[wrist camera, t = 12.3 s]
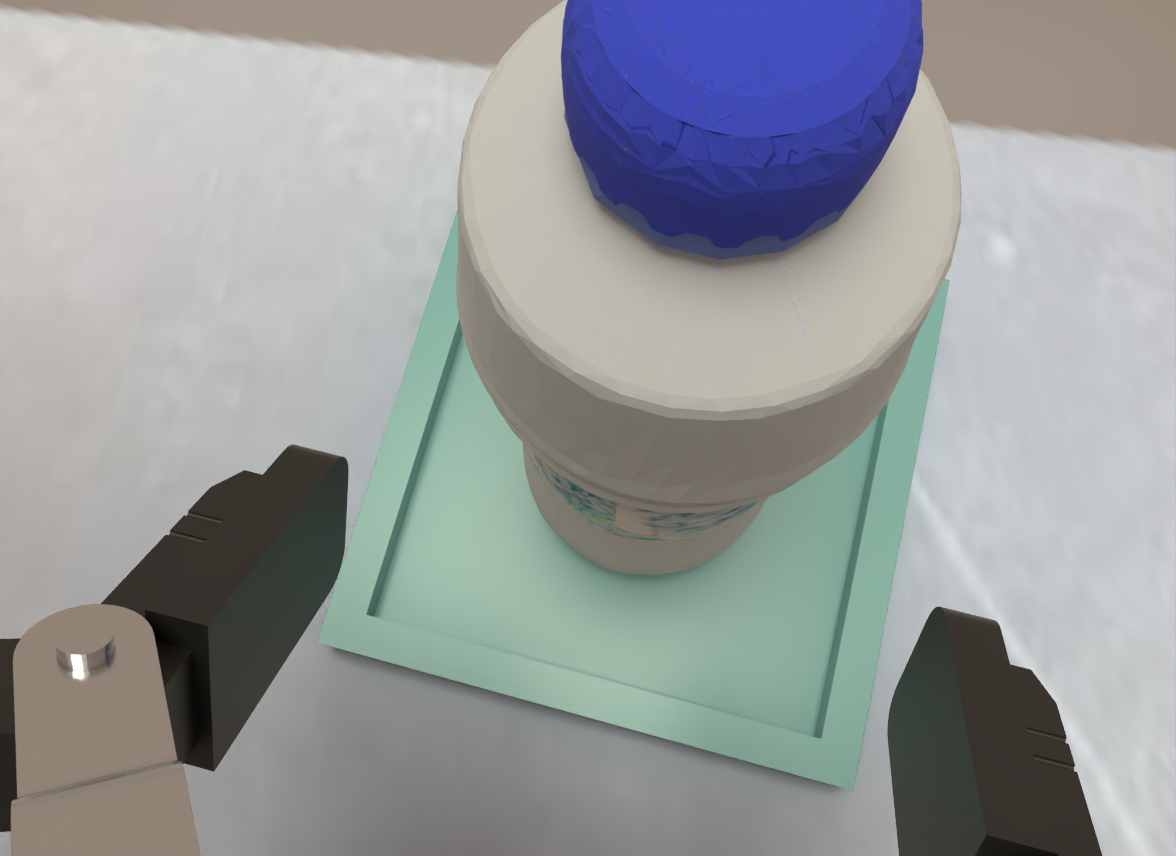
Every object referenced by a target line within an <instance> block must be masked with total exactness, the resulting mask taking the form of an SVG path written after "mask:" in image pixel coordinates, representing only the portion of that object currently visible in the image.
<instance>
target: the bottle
mask: <svg viewBox="0 0 1176 856" xmlns="http://www.w3.org/2000/svg"><path fill="white" fill-rule="evenodd" d="M922 54H923V30H922V1H921V0H564V1H563V2H561V3H560V4H559V5H558V6H556V7H555V8H553V9H552V10H551V11H549V12H548V13H546V14H545V15H544V16H542V17H541V18H540V19H538V20H537V21H536V22H534V23H533V24H532V25H531V26H530V27H529V28H528V29H527V30H526V31H525V32H524V34H523V35H522V36H521V37H520V38H519V39H518V40H517V41H516V42H515V43H514V44H513V46H512V47H511V48H510V49H509V50H508V51H507V52H506V53H505V54H504V56H503V57H502V59H501V60H500V62H499V63H498V65H497V66H496V67H495V69H494V70H493V72H492V73H491V75H490V77H489V79H488V81H487V83H486V84H485V86H484V88H483V90H482V92H481V94H480V95H479V97H478V99H477V101H476V103H475V105H474V108H473V112H472V115H471V118H470V121H469V124H468V128H467V131H466V134H465V137H464V141H463V146H462V154H461V163H460V172H459V180H458V261H457V269H456V299H457V306H458V314H459V319H460V324H461V328H462V333H463V337H464V340H465V343H466V346H467V349H468V352H469V355H470V358H471V361H472V363H473V365H474V367H475V369H476V371H477V373H478V375H479V377H480V379H481V381H482V383H483V385H484V387H485V389H486V390H487V392H488V393H489V395H490V396H491V398H492V400H493V402H494V404H495V406H496V407H497V409H498V410H499V412H500V413H501V415H502V416H503V418H504V419H505V421H506V422H507V424H508V425H509V427H510V428H511V430H512V431H513V432H514V433H515V434H516V436H517V437H518V438H519V439H520V440H521V441H522V442H523V454H524V464H525V471H526V475H527V479H528V483H529V487H530V490H531V493H532V495H533V498H534V500H535V502H536V505H537V507H538V509H539V511H540V513H541V515H542V516H543V517H544V519H545V520H546V521H547V523H548V524H549V526H550V527H551V528H552V529H553V530H554V531H555V532H556V533H557V534H558V536H559V537H560V538H561V539H562V540H563V541H564V542H565V543H566V544H567V545H569V546H570V547H571V548H573V549H574V550H575V551H576V552H578V553H579V554H580V555H582V556H583V557H585V558H586V559H588V560H589V561H591V562H593V563H594V564H596V565H598V566H600V567H602V568H604V569H607V570H611V571H614V572H618V573H622V574H635V575H661V574H667V573H674V572H680V571H685V570H688V569H691V568H695V567H698V566H701V565H703V564H705V563H706V562H708V561H710V560H712V559H713V558H715V557H716V556H718V555H719V554H720V553H722V552H723V551H724V550H726V549H727V548H729V547H730V546H731V545H732V544H733V543H734V542H735V541H736V540H737V539H738V538H739V537H740V536H741V535H742V534H743V533H744V532H745V531H746V529H747V528H748V527H749V525H750V524H751V523H752V522H753V520H754V519H755V518H756V516H757V515H758V514H759V512H760V511H761V509H762V507H763V505H764V503H765V501H766V499H767V497H769V496H772V495H774V494H776V493H779V492H781V491H783V490H785V489H787V488H788V487H790V486H792V485H793V484H795V483H797V482H798V481H800V480H802V479H803V478H805V477H807V476H808V475H810V474H811V473H813V472H814V471H815V470H816V469H818V468H820V467H821V466H823V465H824V464H826V463H827V462H829V461H831V460H832V459H834V458H835V457H836V456H838V455H839V454H840V453H841V452H842V451H843V450H845V449H846V448H847V447H848V446H849V445H850V444H851V443H853V442H854V441H855V440H856V439H857V438H858V437H859V436H861V435H862V433H863V432H864V431H865V430H866V428H867V427H868V426H869V425H870V423H871V422H872V421H873V420H874V418H875V417H876V416H877V415H878V413H879V412H880V411H881V410H882V408H883V407H884V406H885V405H886V403H887V402H888V400H889V398H890V396H891V394H892V392H893V391H894V389H895V387H896V385H897V383H898V381H899V379H900V377H901V375H902V373H903V371H904V369H905V367H906V365H907V361H908V358H909V355H910V352H911V349H912V346H913V343H914V341H915V339H916V337H917V334H918V332H919V330H920V329H921V327H922V325H923V323H924V321H925V319H926V317H927V315H928V313H929V311H930V309H931V307H932V305H933V303H934V301H935V298H936V296H937V294H938V292H939V290H940V288H941V286H942V283H943V281H944V279H945V277H946V275H947V273H948V270H949V268H950V266H951V262H952V258H953V253H954V249H955V245H956V240H957V236H958V232H959V228H960V220H961V179H960V168H959V162H958V158H957V153H956V149H955V145H954V140H953V136H952V131H951V127H950V123H949V121H948V119H947V117H946V115H945V113H944V111H943V109H942V106H941V104H940V102H939V100H938V98H937V96H936V94H935V91H934V89H933V87H932V85H931V83H930V81H929V80H928V78H927V77H926V76H925V74H924V73H923V72H922V71H921V69H920V65H921V59H922Z"/></svg>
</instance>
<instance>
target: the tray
mask: <svg viewBox="0 0 1176 856" xmlns="http://www.w3.org/2000/svg"><path fill="white" fill-rule="evenodd" d="M457 261H458V210H457V213H456V216H455V219H454V222H453V225H452V228H451V231H450V235H449V238H448V241H447V244H446V247H445V250H444V253H443V256H442V259H441V262H440V265H439V268H438V271H437V275H436V278H435V281H434V284H433V287H432V290H431V293H430V296H429V299H428V302H427V305H426V308H425V312H424V315H423V318H422V321H421V324H420V327H419V330H418V333H417V336H416V339H415V342H414V345H413V349H412V352H411V355H410V358H409V361H408V364H407V367H406V370H405V373H404V376H403V379H402V382H401V386H400V389H399V392H398V395H397V398H396V401H395V404H394V407H393V410H392V413H391V416H390V419H389V422H388V426H387V429H386V432H385V435H384V438H383V441H382V444H381V447H380V450H379V453H378V456H377V459H376V463H375V466H374V469H373V472H372V475H371V478H370V481H369V484H368V487H367V490H366V493H365V496H364V500H363V503H362V506H361V509H360V512H359V515H358V518H357V521H356V524H355V527H354V530H353V533H352V536H351V540H350V543H349V546H348V549H347V552H346V555H345V558H344V561H343V564H342V567H341V570H340V573H339V577H338V580H337V583H336V586H335V589H334V592H333V595H332V598H331V601H330V604H329V607H328V610H327V614H326V617H325V620H324V623H323V626H322V629H321V632H320V635H319V638H318V641H317V643H321V644H324V645H328V646H331V647H335V648H339V649H342V650H346V651H350V652H353V653H357V654H360V655H364V656H368V657H371V658H375V659H378V660H382V661H386V662H389V663H393V664H397V665H400V666H404V667H407V668H411V669H415V670H418V671H422V672H426V673H429V674H433V675H436V676H440V677H444V678H447V679H451V680H454V681H458V682H462V683H465V684H469V685H473V686H476V687H480V688H483V689H487V690H491V691H494V692H498V693H502V694H505V695H509V696H512V697H516V698H520V699H523V700H527V701H530V702H534V703H538V704H541V705H545V706H549V707H552V708H556V709H559V710H563V711H567V712H570V713H574V714H578V715H581V716H585V717H588V718H592V719H596V720H599V721H603V722H606V723H610V724H614V725H617V726H621V727H625V728H628V729H632V730H635V731H639V732H643V733H646V734H650V735H654V736H657V737H661V738H664V739H668V740H672V741H675V742H679V743H682V744H686V745H690V746H693V747H697V748H701V749H704V750H708V751H711V752H715V753H719V754H722V755H726V756H730V757H733V758H737V759H740V760H744V761H748V762H751V763H755V764H758V765H762V766H766V767H769V768H773V769H777V770H780V771H784V772H787V773H791V774H795V775H798V776H802V777H806V778H809V779H813V780H816V781H820V782H824V783H827V784H831V785H834V786H838V787H842V788H845V789H849V790H853V788H854V783H855V778H856V772H857V767H858V762H859V757H860V751H861V746H862V741H863V735H864V730H865V725H866V720H867V714H868V709H869V704H870V698H871V693H872V688H873V683H874V677H875V672H876V667H877V661H878V656H879V651H880V646H881V640H882V635H883V630H884V624H885V619H886V614H887V609H888V603H889V598H890V593H891V587H892V582H893V577H894V572H895V566H896V561H897V556H898V550H899V545H900V540H901V535H902V529H903V524H904V519H905V513H906V508H907V503H908V498H909V492H910V487H911V482H912V476H913V471H914V466H915V461H916V455H917V450H918V445H919V439H920V434H921V429H922V424H923V418H924V413H925V408H926V402H927V397H928V392H929V387H930V381H931V376H932V371H933V365H934V360H935V355H936V350H937V344H938V339H939V334H940V328H941V323H942V318H943V313H944V307H945V302H946V297H947V291H948V286H949V281H950V280H947V279H944V281H943V283H942V286H941V288H940V290H939V292H938V294H937V296H936V298H935V301H934V303H933V305H932V307H931V309H930V311H929V313H928V315H927V317H926V319H925V321H924V323H923V325H922V327H921V329H920V330H919V332H918V334H917V337H916V339H915V341H914V343H913V346H912V349H911V352H910V355H909V358H908V361H907V365H906V367H905V369H904V371H903V373H902V375H901V377H900V379H899V381H898V383H897V385H896V387H895V389H894V391H893V392H892V394H891V396H890V398H889V400H888V402H887V403H886V405H885V406H884V407H883V408H882V410H881V411H880V412H879V413H878V415H877V416H876V417H875V418H874V420H873V421H872V422H871V423H870V425H869V426H868V427H867V428H866V430H865V431H864V432H863V433H862V435H861V436H859V437H858V438H857V439H856V440H855V441H854V442H853V443H851V444H850V445H849V446H848V447H847V448H846V449H845V450H843V451H842V452H841V453H840V454H839V455H838V456H836V457H835V458H834V459H832V460H831V461H829V462H827V463H826V464H824V465H823V466H821V467H820V468H818V469H816V470H815V471H814V472H813V473H811V474H810V475H808V476H807V477H805V478H803V479H802V480H800V481H798V482H797V483H795V484H793V485H792V486H790V487H788V488H787V489H785V490H783V491H781V492H779V493H776V494H774V495H772V496H769V497H767V499H766V501H765V503H764V505H763V507H762V509H761V511H760V512H759V514H758V515H757V516H756V518H755V519H754V520H753V522H752V523H751V524H750V525H749V527H748V528H747V529H746V531H745V532H744V533H743V534H742V535H741V536H740V537H739V538H738V539H737V540H736V541H735V542H734V543H733V544H732V545H731V546H730V547H729V548H727V549H726V550H724V551H723V552H722V553H720V554H719V555H718V556H716V557H715V558H713V559H712V560H710V561H708V562H706V563H705V564H703V565H701V566H698V567H695V568H691V569H688V570H685V571H680V572H674V573H667V574H661V575H635V574H622V573H618V572H614V571H611V570H607V569H604V568H602V567H600V566H598V565H596V564H594V563H593V562H591V561H589V560H588V559H586V558H585V557H583V556H582V555H580V554H579V553H578V552H576V551H575V550H574V549H573V548H571V547H570V546H569V545H567V544H566V543H565V542H564V541H563V540H562V539H561V538H560V537H559V536H558V534H557V533H556V532H555V531H554V530H553V529H552V528H551V527H550V526H549V524H548V523H547V521H546V520H545V519H544V517H543V516H542V515H541V513H540V511H539V509H538V507H537V505H536V502H535V500H534V498H533V495H532V493H531V490H530V487H529V483H528V479H527V475H526V471H525V464H524V454H523V442H522V441H521V440H520V439H519V438H518V437H517V436H516V434H515V433H514V432H513V431H512V430H511V428H510V427H509V425H508V424H507V422H506V421H505V419H504V418H503V416H502V415H501V413H500V412H499V410H498V409H497V407H496V406H495V404H494V402H493V400H492V398H491V396H490V395H489V393H488V392H487V390H486V389H485V387H484V385H483V383H482V381H481V379H480V377H479V375H478V373H477V371H476V369H475V367H474V365H473V363H472V361H471V358H470V355H469V352H468V349H467V346H466V343H465V340H464V337H463V333H462V328H461V324H460V319H459V314H458V306H457V299H456V269H457Z"/></svg>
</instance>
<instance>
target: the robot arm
mask: <svg viewBox="0 0 1176 856" xmlns="http://www.w3.org/2000/svg"><path fill="white" fill-rule="evenodd" d="M347 491H348V463H347V460H346V458H345V457H341V456H337V455H333V454H329V453H325V452H321V451H317V450H313V449H309V448H305V447H301V446H297V445H290V446H288V447H287V448H286V449H285V450H284V451H283V452H282V453H281V455H280V456H279V457H278V458H277V459H276V460H275V461H274V463H273V464H272V465H271V466H270V467H269V468H268V469H267V471H266V472H265V473H264V474H263V475H261V474H257V473H253V472H249V471H245V470H244V471H242V472H240V473H238V474H236V475H234V476H232V477H230V478H228V479H226V480H224V481H222V482H220V483H218V484H216V485H214V486H212V487H211V488H210V489H209V490H208V491H207V492H206V493H205V494H204V495H203V496H202V497H201V498H200V499H199V500H198V501H197V502H196V503H195V504H194V506H193V507H192V508H191V509H190V510H189V512H188V515H187V516H185V515H184V516H183V517H182V518H181V519H180V520H179V521H178V522H177V524H176V525H175V526H174V527H173V528H172V529H171V530H170V534H169V536H168V535H165V536H164V537H163V538H162V539H161V541H160V542H159V543H158V544H157V545H156V546H155V547H154V548H153V549H152V550H151V551H150V552H149V553H148V554H147V555H146V556H145V557H144V559H143V560H142V561H141V562H140V563H139V564H138V565H137V566H136V567H135V568H134V569H133V570H132V571H131V572H130V573H129V574H128V575H127V577H126V578H125V579H124V580H123V581H122V582H121V583H120V584H119V585H118V586H117V587H116V588H115V589H114V590H113V591H112V592H111V594H110V595H109V596H108V597H107V598H106V599H105V600H104V601H103V602H102V603H101V604H92V605H83V606H78V607H73V608H69V609H66V610H63V611H60V612H57V613H55V614H53V615H51V616H48V617H46V618H45V619H43V620H41V621H40V622H38V623H37V624H35V625H34V626H33V627H32V628H30V629H29V630H28V631H27V632H26V633H25V634H24V635H23V636H22V638H20V639H0V832H5V831H11V847H12V856H200V851H199V846H198V840H197V835H196V830H195V825H194V819H193V814H192V809H191V804H190V798H189V793H188V788H187V783H186V777H185V772H184V768H183V764H184V763H185V764H189V765H193V766H196V767H200V768H203V769H207V770H211V771H215V769H216V768H217V766H218V765H219V763H220V761H221V760H222V758H223V757H224V755H225V754H226V752H227V751H228V749H229V748H230V746H231V744H232V743H233V741H234V740H235V738H236V737H237V735H238V734H239V732H240V730H241V729H242V727H243V726H244V724H245V723H246V721H247V720H248V718H249V717H250V715H251V713H252V712H253V710H254V709H255V707H256V706H257V704H258V703H259V701H260V700H261V698H262V696H263V695H264V693H265V692H266V690H267V689H268V687H269V686H270V684H271V682H272V681H273V679H274V678H275V676H276V675H277V673H278V672H279V670H280V669H281V667H282V665H283V664H284V662H285V661H286V659H287V658H288V656H289V655H290V653H291V651H292V650H293V648H294V647H295V645H296V644H297V642H298V641H299V639H300V638H301V636H302V634H303V633H304V631H305V630H306V628H307V627H308V625H309V624H310V622H311V620H312V619H313V617H314V616H315V614H316V613H317V611H318V610H319V608H320V607H321V605H322V603H323V602H324V600H325V599H326V597H327V596H328V594H329V593H330V591H331V589H332V587H333V585H334V583H335V581H336V579H337V576H338V573H339V570H340V567H341V564H342V560H343V555H344V548H345V532H346V511H347ZM1065 741H1066V734H1065V731H1064V727H1063V724H1062V721H1061V717H1060V714H1059V711H1058V707H1057V704H1056V702H1055V701H1054V700H1053V698H1052V697H1051V696H1050V694H1049V693H1048V692H1047V690H1046V689H1045V688H1044V686H1043V685H1042V684H1041V682H1040V681H1039V680H1038V678H1037V677H1036V676H1035V674H1034V673H1033V672H1032V671H1031V670H1030V669H1026V668H1022V667H1018V666H1014V665H1010V663H1009V659H1008V655H1007V651H1006V648H1005V644H1004V640H1003V636H1002V632H1001V629H1000V626H999V624H998V623H997V622H996V621H995V620H991V619H987V618H983V617H979V616H975V615H971V614H967V613H963V612H959V611H955V610H951V609H947V608H943V607H936V608H935V609H934V610H933V611H932V612H931V614H930V615H929V617H928V619H927V621H926V623H925V626H924V628H923V630H922V632H921V634H920V637H919V639H918V641H917V643H916V645H915V648H914V650H913V652H912V654H911V656H910V659H909V661H908V663H907V665H906V667H905V670H904V672H903V674H902V676H901V678H900V681H899V683H898V685H897V687H896V690H895V692H894V695H893V699H892V702H891V707H890V712H889V719H888V745H889V756H890V766H891V776H892V786H893V797H894V807H895V817H896V827H897V838H898V848H899V856H1102V853H1101V850H1100V847H1099V843H1098V840H1097V837H1096V833H1095V830H1094V827H1093V824H1092V820H1091V817H1090V814H1089V810H1088V807H1087V804H1086V800H1085V797H1084V794H1083V790H1082V787H1081V784H1080V780H1079V777H1078V774H1077V772H1074V766H1075V764H1074V761H1073V757H1072V754H1071V751H1070V747H1069V744H1067V743H1065Z"/></svg>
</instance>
